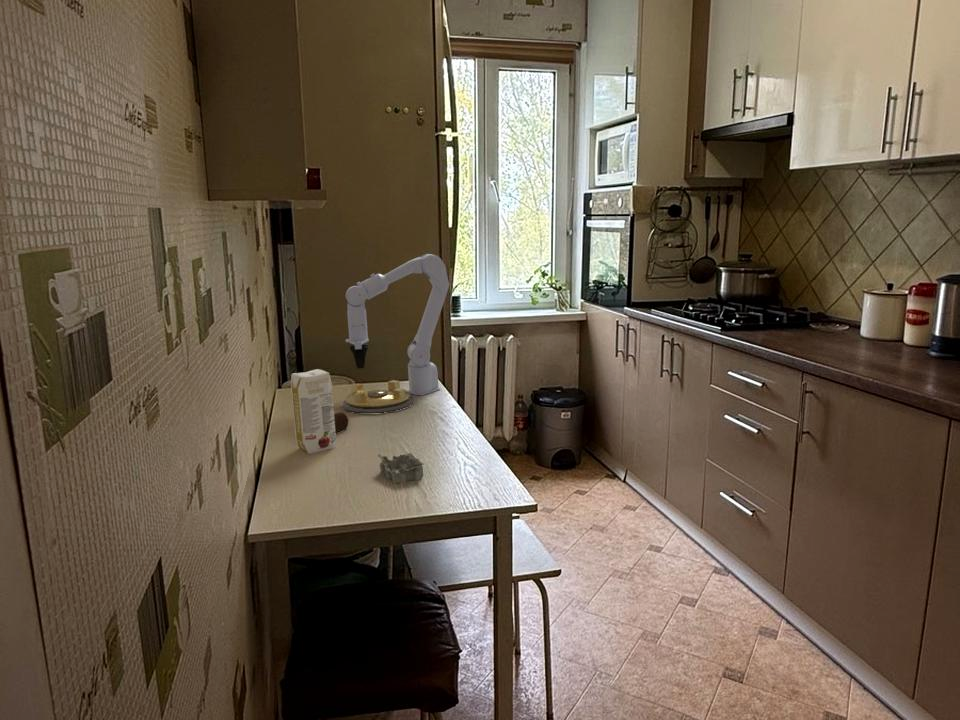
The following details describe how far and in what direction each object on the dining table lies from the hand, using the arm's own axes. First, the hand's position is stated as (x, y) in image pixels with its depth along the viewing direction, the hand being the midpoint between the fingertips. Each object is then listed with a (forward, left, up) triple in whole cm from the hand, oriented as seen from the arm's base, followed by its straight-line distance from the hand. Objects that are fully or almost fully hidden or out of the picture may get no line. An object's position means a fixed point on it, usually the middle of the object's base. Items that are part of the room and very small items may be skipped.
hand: (360, 367), depth 209 cm
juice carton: (+41, +27, -10) cm, 50 cm away
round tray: (+4, +11, -8) cm, 14 cm away
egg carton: (+43, +57, -10) cm, 72 cm away
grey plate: (+4, +11, -9) cm, 15 cm away
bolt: (+28, +14, -10) cm, 33 cm away
